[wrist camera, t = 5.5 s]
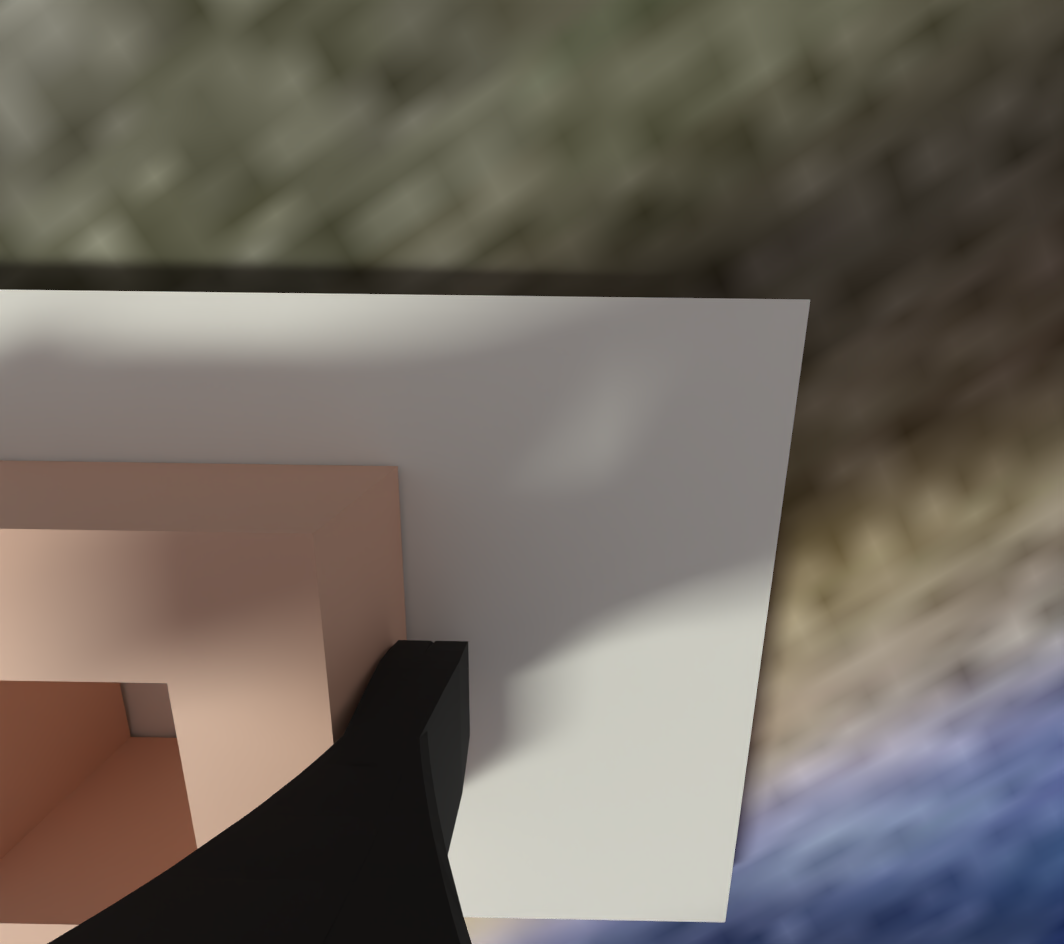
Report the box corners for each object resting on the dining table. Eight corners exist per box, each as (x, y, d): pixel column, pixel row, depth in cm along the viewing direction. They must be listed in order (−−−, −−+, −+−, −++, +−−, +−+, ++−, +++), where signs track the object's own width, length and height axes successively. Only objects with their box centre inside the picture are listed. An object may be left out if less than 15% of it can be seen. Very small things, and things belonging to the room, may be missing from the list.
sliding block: (416, 818, 11) (360, 1029, 7) (57, 811, 11) (-161, 1018, 8) (397, 466, 9) (313, 534, 6) (-35, 459, 9) (-380, 523, 6)
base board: (710, 878, 13) (820, 1209, 8) (14, 865, 13) (-311, 1181, 8) (781, 305, 9) (1048, 250, 4) (-155, 294, 9) (-889, 228, 5)
